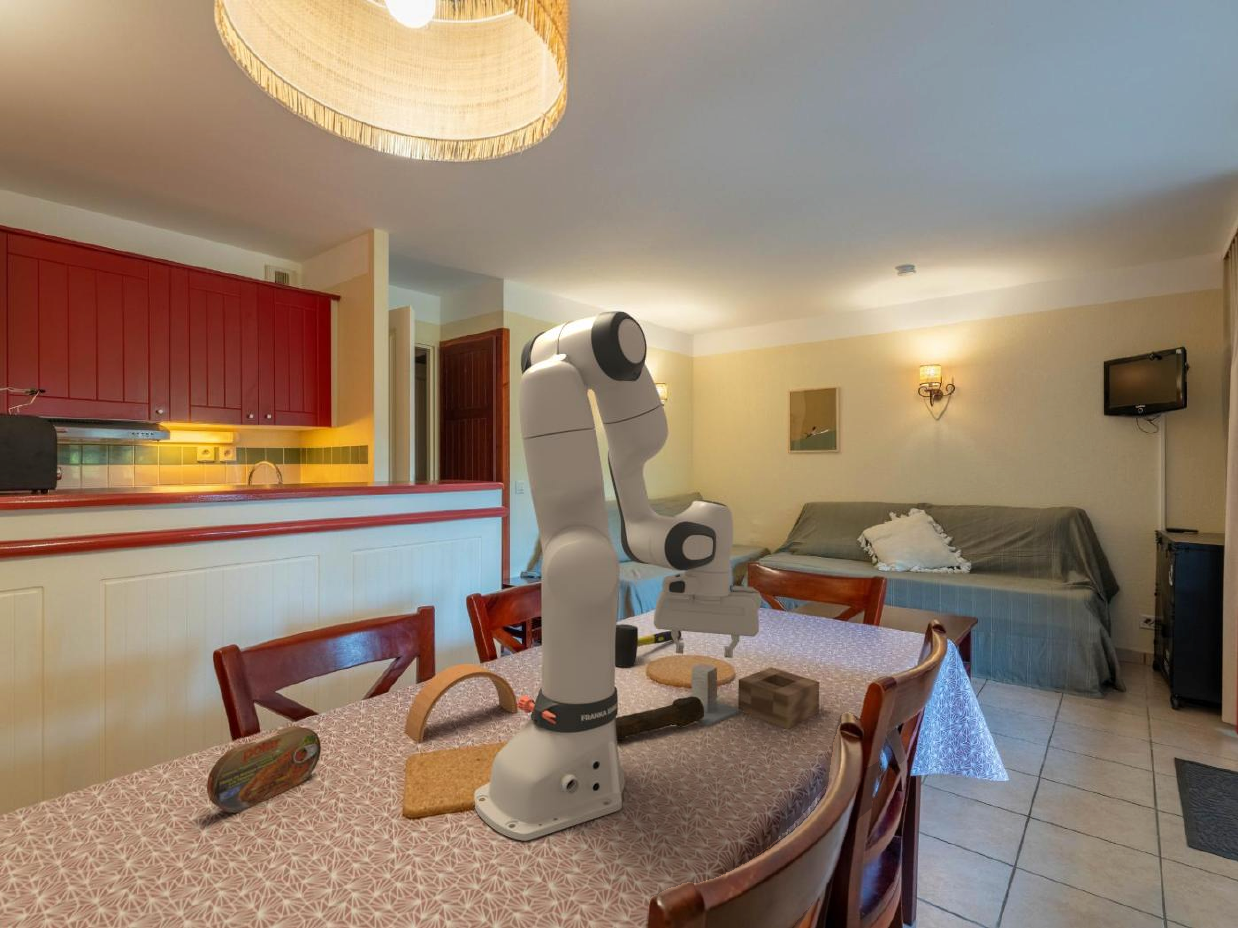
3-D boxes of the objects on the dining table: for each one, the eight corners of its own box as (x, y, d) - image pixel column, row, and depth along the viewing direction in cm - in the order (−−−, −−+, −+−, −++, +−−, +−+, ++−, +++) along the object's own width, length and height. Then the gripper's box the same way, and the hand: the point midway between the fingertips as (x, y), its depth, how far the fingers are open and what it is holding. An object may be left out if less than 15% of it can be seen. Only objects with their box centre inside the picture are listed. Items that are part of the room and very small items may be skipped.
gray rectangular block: (707, 713, 114) (707, 672, 114) (691, 708, 117) (691, 667, 117) (716, 707, 117) (717, 667, 117) (700, 703, 119) (701, 663, 119)
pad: (707, 726, 110) (707, 723, 110) (668, 709, 117) (668, 706, 117) (740, 712, 117) (740, 709, 117) (701, 696, 124) (701, 694, 124)
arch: (404, 732, 107) (405, 676, 107) (503, 703, 120) (503, 654, 120) (417, 744, 102) (418, 686, 102) (518, 713, 116) (518, 661, 116)
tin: (214, 824, 79) (214, 761, 79) (203, 817, 81) (203, 754, 81) (322, 774, 92) (322, 720, 92) (310, 769, 94) (310, 715, 94)
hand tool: (615, 746, 102) (614, 719, 102) (606, 735, 106) (606, 709, 106) (711, 725, 109) (711, 700, 109) (700, 716, 113) (700, 692, 113)
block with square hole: (786, 728, 109) (787, 696, 109) (738, 709, 118) (738, 679, 118) (818, 712, 117) (819, 681, 117) (770, 695, 125) (771, 666, 125)
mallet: (668, 637, 167) (669, 603, 167) (687, 641, 163) (688, 606, 163) (606, 666, 143) (607, 626, 143) (627, 671, 139) (627, 630, 139)
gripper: (759, 584, 118) (756, 654, 118) (656, 577, 120) (652, 645, 120) (764, 590, 112) (760, 664, 112) (655, 582, 114) (651, 655, 114)
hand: (703, 654), depth 116 cm, fingers open, 8 cm apart
